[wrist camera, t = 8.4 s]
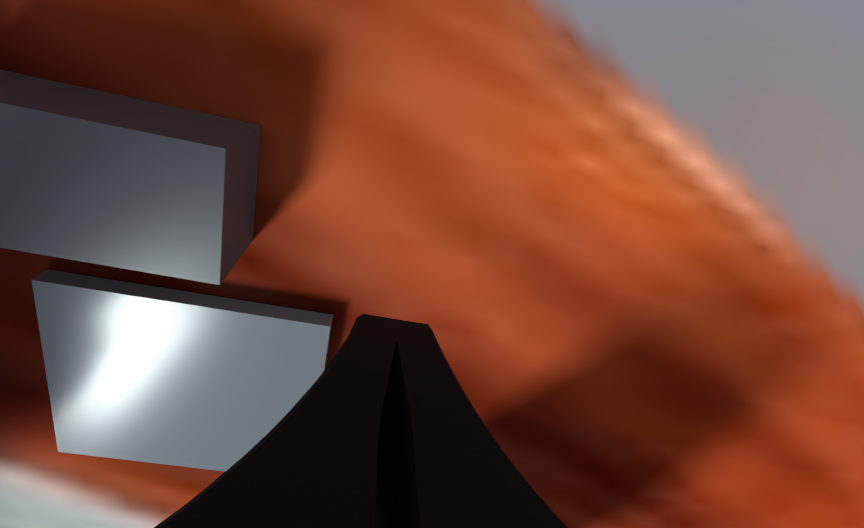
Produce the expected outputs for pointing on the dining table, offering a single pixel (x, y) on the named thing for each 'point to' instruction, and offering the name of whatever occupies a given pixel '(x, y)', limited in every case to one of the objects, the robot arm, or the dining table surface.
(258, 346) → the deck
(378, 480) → the robot arm
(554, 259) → the dining table surface
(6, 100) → the plug
